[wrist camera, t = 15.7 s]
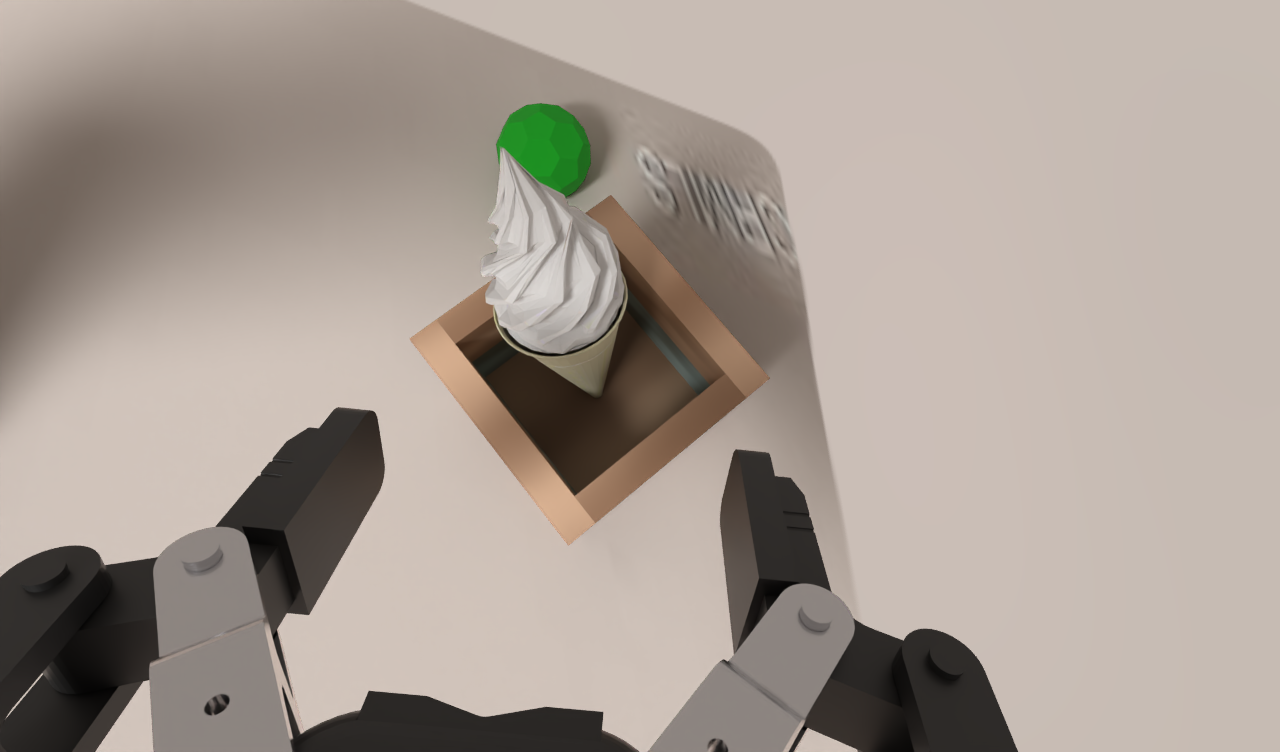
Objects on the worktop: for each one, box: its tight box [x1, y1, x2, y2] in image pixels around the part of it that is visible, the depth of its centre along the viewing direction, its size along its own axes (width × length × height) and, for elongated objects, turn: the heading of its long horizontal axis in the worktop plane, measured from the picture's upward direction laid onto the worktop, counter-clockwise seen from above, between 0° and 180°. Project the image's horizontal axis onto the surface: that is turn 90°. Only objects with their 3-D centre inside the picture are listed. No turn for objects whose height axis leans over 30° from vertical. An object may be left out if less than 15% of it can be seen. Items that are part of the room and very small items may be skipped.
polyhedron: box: [496, 103, 591, 197], centre depth 33 cm, size 5×5×5 cm
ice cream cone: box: [480, 147, 628, 398], centre depth 23 cm, size 5×5×15 cm
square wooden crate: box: [410, 195, 770, 545], centre depth 28 cm, size 10×10×9 cm
